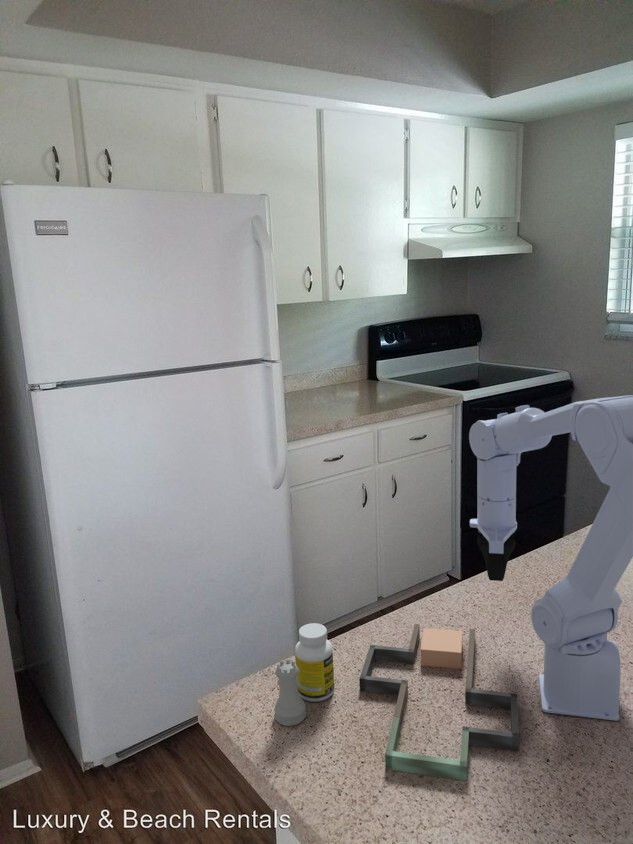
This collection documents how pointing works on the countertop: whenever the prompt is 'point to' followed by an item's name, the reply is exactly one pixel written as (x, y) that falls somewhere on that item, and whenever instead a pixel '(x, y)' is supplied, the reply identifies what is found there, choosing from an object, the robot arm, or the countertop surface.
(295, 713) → the rook chess piece
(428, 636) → the light orange-tan block
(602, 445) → the robot arm
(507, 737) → the box
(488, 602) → the countertop surface
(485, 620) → the countertop surface
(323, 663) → the supplement bottle
